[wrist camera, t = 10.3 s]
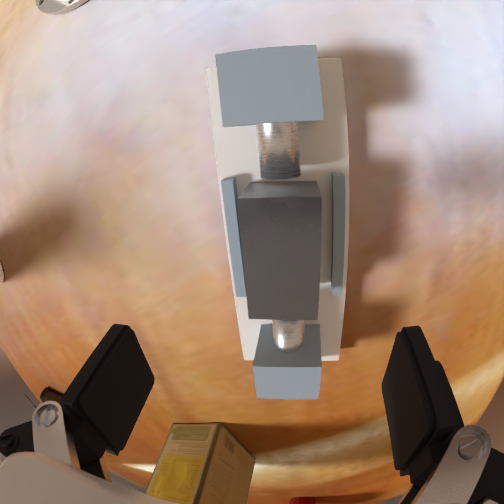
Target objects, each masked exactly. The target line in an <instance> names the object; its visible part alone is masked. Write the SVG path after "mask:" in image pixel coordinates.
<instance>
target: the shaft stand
mask: <svg viewBox="0 0 504 504" xmlns="http://www.w3.org/2000/svg"><path fill="white" fill-rule="evenodd" d="M215 56H216V67H211V68H206V74H207V84H208V94H209V104H210V113H211V122H212V131H213V140H214V148H215V157H216V165H217V173H218V182H219V190H220V197H221V205H222V213H223V220H224V228H225V235H226V243H227V250H228V257H229V264H230V271H231V278H232V285H233V292H234V299H235V305H236V312H237V318H238V325H239V331H240V338H241V344H242V350H243V356H244V360H254V362H253V373H254V380H255V387H256V394H257V398H267V399H318V398H319V389H320V380H321V369H322V361H331V360H339V352H340V345H341V336H342V327H343V318H344V307H345V295H346V282H347V267H348V246H349V205H350V188H349V147H348V127H347V112H346V100H345V89H344V79H343V70H342V62H341V58H334V57H318V56H317V48H316V45H299V46H281V47H268V48H258V49H249V50H241V51H234V52H228V53H222V54H216V55H215ZM272 181H317V184H318V187H319V190H320V193H321V196H322V230H321V266H320V289H319V306H318V320H268V319H249V317H248V307H247V297H246V286H245V276H244V265H243V254H242V243H241V232H240V221H239V210H238V197H239V196H240V195H241V193H242V192H243V191H244V190H245V188H246V187H247V186H248V185H249V183H250V182H272Z"/></svg>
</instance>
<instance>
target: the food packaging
mask: <svg viewBox="0 0 504 504" xmlns="http://www.w3.org/2000/svg"><path fill="white" fill-rule="evenodd" d="M254 464H255V458H254V457H253V456H252V455H251V454H250V453H249V452H248V451H247V450H246V449H245V448H244V447H243V446H242V444H241V443H240V442H239V441H238V440H237V439H236V438H235V436H234V435H233V434H232V433H231V432H230V431H228V429H227V428H226V427H225V426H224V425H223V424H222V423H198V424H174V423H172V427H171V430H170V432H169V434H168V437H167V439H166V442H165V444H164V447H163V449H162V452H161V454H160V457H159V459H158V462H157V464H156V467H155V469H154V472H153V474H152V477H151V479H150V482H149V484H148V487H147V489H146V491H145V494H146V495H149V496H152V497H156V498H159V499H163V500H167V501H170V502H174V503H178V504H246V501H247V497H248V492H249V487H250V483H251V478H252V473H253V469H254Z"/></svg>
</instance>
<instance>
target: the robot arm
mask: <svg viewBox="0 0 504 504" xmlns="http://www.w3.org/2000/svg"><path fill="white" fill-rule="evenodd" d="M86 1H88V0H36V5H37V7H38V9H39V10H40V11H41V12H44V13H47V14H52V15H58V14H63V13H66V12H69V11H71V10H73V9H75V8H77V7H79V6H80V5H82V4H83V3H85V2H86ZM153 385H154V375H153V373H152V371H151V369H150V367H149V365H148V362H147V360H146V358H145V356H144V354H143V351H142V349H141V347H140V344H139V342H138V340H137V337H136V335H135V333H134V331H133V330H132V329H131V328H130V327H129V326H128V325H121V324H114V325H113V326H112V327H111V328H110V329H109V331H108V332H107V333H106V335H105V336H104V337H103V339H102V340H101V341H100V343H99V344H98V346H97V347H96V348H95V350H94V351H93V353H92V354H91V355H90V357H89V358H88V360H87V361H86V362H85V364H84V365H83V367H82V368H81V370H80V371H79V372H78V374H77V375H76V377H75V378H74V380H73V381H72V383H71V384H70V386H69V387H68V389H67V390H66V392H65V393H64V395H63V396H62V398H61V399H60V400H61V402H62V405H61V406H60V405H59V403H57V402H55V401H46V402H44V403H41V404H40V405H39V406H38V407H37V408H36V409H35V411H34V413H33V417H32V421H29V422H26V423H23V424H21V425H18V426H15V427H12V428H9V429H7V430H5V431H4V432H3V433H2V434H1V436H0V504H178V503H174V502H170V501H167V500H163V499H159V498H156V497H152V496H149V495H146V494H143V493H139V492H136V491H133V490H130V489H128V488H125V487H122V486H119V485H117V484H114V483H112V481H111V478H110V475H109V472H108V469H107V466H106V463H105V460H104V457H103V454H104V452H105V451H106V452H108V453H111V454H114V455H116V456H118V454H119V452H120V450H123V449H124V447H125V445H126V443H127V441H128V439H129V436H130V434H131V432H132V430H133V428H134V425H135V423H136V421H137V419H138V417H139V415H140V412H141V410H142V408H143V406H144V404H145V402H146V400H147V397H148V395H149V393H150V391H151V389H152V387H153ZM382 393H383V398H384V404H385V409H386V414H387V420H388V426H389V432H390V438H391V444H392V451H393V459H394V466H395V469H396V470H400V476H405V475H410V481H411V483H412V484H411V486H410V487H409V489H408V490H407V492H406V493H405V494H404V496H403V497H402V499H401V500H400V501H399V503H398V504H504V454H503V453H501V452H499V451H497V450H495V449H493V448H491V446H492V445H491V438H490V436H489V434H488V432H487V431H486V430H485V429H484V428H482V427H480V426H477V425H467V426H465V427H464V424H463V421H462V417H461V414H460V412H459V409H458V406H457V403H456V400H455V397H454V395H453V392H452V389H451V387H450V384H449V381H448V379H447V376H446V374H445V371H444V369H443V367H442V365H441V363H440V362H439V361H435V360H434V357H433V355H432V352H431V350H430V348H429V345H428V343H427V341H426V338H425V336H424V334H423V332H422V330H421V328H420V326H410V327H403V328H402V330H401V332H398V333H397V335H396V338H395V342H394V345H393V349H392V353H391V356H390V359H389V363H388V366H387V369H386V372H385V375H384V379H383V382H382Z"/></svg>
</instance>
